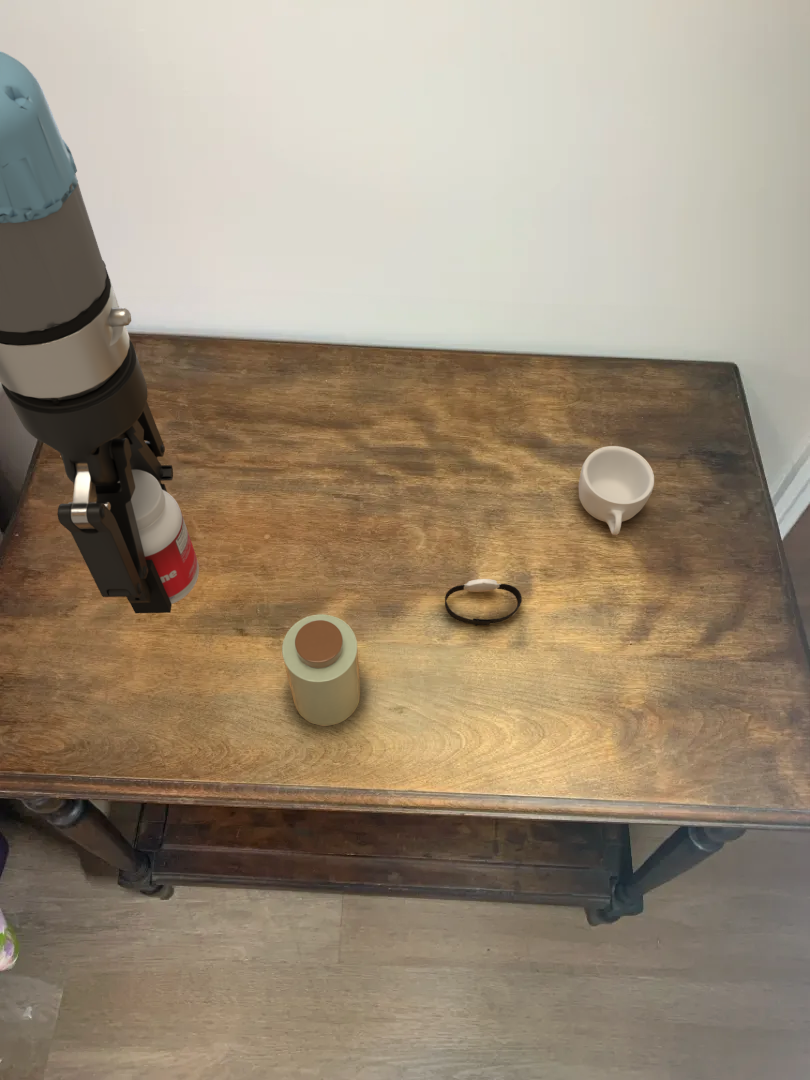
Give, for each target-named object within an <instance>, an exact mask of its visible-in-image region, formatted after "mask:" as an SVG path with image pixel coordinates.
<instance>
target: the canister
mask: <svg viewBox="0 0 810 1080" xmlns="http://www.w3.org/2000/svg"><path fill="white" fill-rule="evenodd" d="M358 651H359V650H358V641H357V637H356V634H355V632H354V630H353V629H352V628H351V626H350V625H349V624H348V623H347V622H346V621H344V620H343V619H341V618H339V617H337V616H334V615H331V614H330V615H329V614H325V613H324V614H322V613H321V614H313V615H308V616H306V617H303V618H301V619H300V620H298V621H296V622H295V623H294V624H293V625H292V626H291V627H290V628H289V629H288V630H287V632H286V635H285V636H284V638H283V641H282V646H281V654H282V660H283V664H284V667H285V671H286V676H287V680H288V685H289V689H290V692H291V696H292V701H293V704H294V707H295V710H296V711H297V713H298V714H299V715H300V717H302V718H303V719H304V720H305V721H307V722H309V723H311V724H312V725H316V726H323V727H329V726H335V725H338V724H340V723H342V722H344V721H345V720H347V719H349V718H350V717H351V716H352V715H353V714H354V712H355V711H356V709H357V708H358V706H359V703H360V701H361V700H360V699H361V679H360V666H359V652H358Z"/></svg>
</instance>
